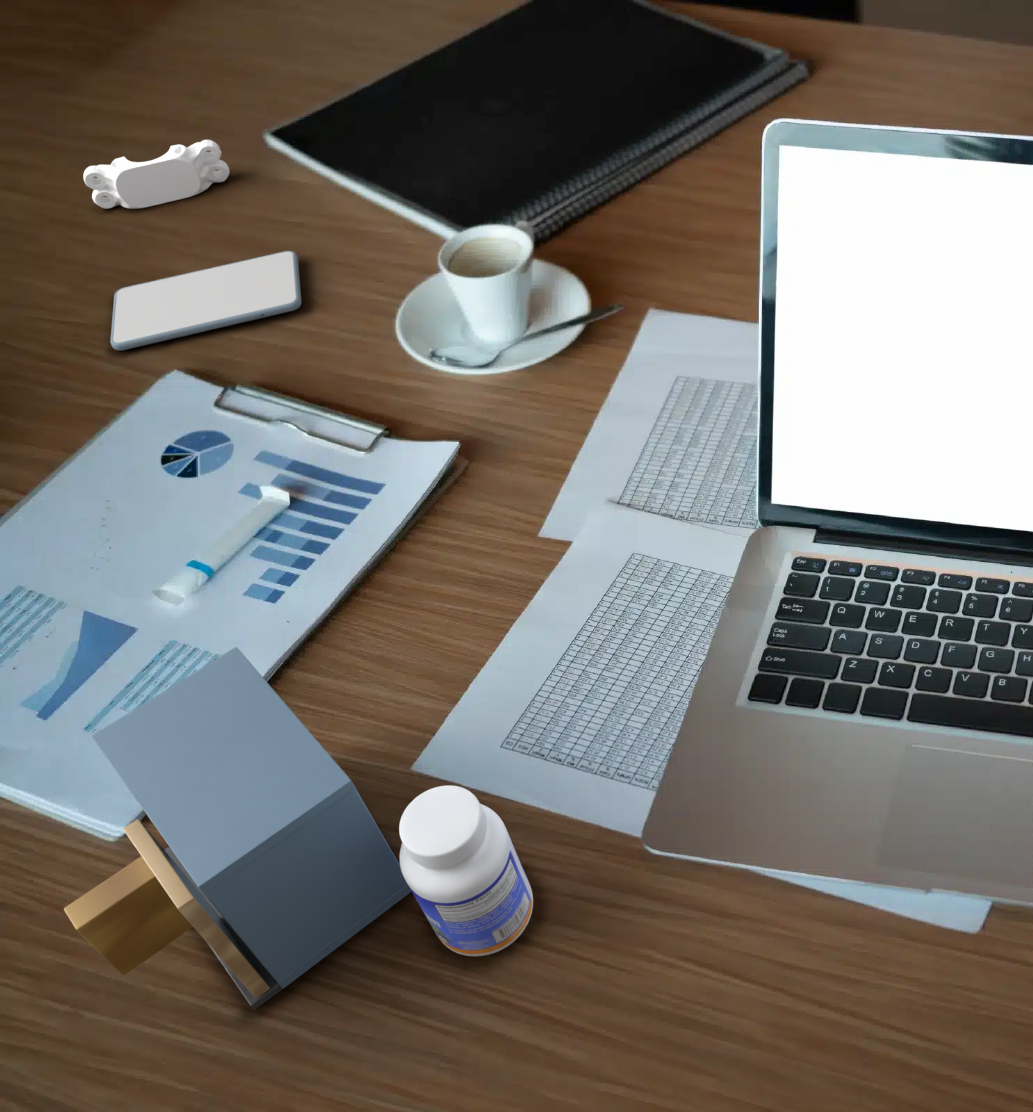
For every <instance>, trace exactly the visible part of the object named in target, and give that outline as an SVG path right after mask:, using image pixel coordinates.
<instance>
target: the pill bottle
mask: <svg viewBox="0 0 1033 1112" xmlns="http://www.w3.org/2000/svg"><path fill="white" fill-rule="evenodd" d="M398 831H399V837H400V841H401V842H402V843H401V845H400V850H399V864H400V867H401V871H402V874H403V876H404V878H405V880H406V882H407V884H408V886H409V887H410V889H411V891H412V892H411V893H412V895H413V896H414V898H415V900H416V901H417V903H418V905H419V906H420V909H421V910H422V912H423V914H424V916H425V917H426V919H427V921H428V922H429V924H430V926H431V928H432V929H433V931H434V933H435V935H436V936H437V938H438V939H439V941H440V942H441V943H442V944H443V945H444V946H445V947H446V948H448V949H449V950H450V951H452V952H453V953H456V954H457V955H458V954H459V955H462V956H466V957H483V956H489V955H492V954H495V953H498V952H500V951H502V950H504V949H506V948H508V947H509V946H510V945H512V944H513V943H515V941H517V939H519V937H520V936H521V935H523V932H524V931H525V929H526V927H527V926H528V925H529V922H530V920H531V917H532V915H533V914H532V913H533V909H534V895H533V890H532V887H531V883H530V882H529V879H528V876H527V874H526V871H525V870H524V868H523V866H522V863H521V861H520V858H519V856H518V853H517V851H516V849H515V847H514V844H513V842H512V839H511V837H510V834H509V831H508V830H507V827H506V824H505V823H504V821H503V820H502V819H501V817H500V816H499V815H498V813H497V812H495V811H494V810H493V809H492V808H490V807H488V806H487V805H484V804H482V803H480V801H479V799H478V798H477V797H476V796H475V794H474V793H472V792H471V791H470V790H468V789H466V788H465V787H461V786H459V785H458V786H457V785H451V784H450V785H440V786H436V787H433V788H430V789H427V790H425V791H423V792H422V793H420V794H419V795H417V796H416V797H415V798H413V800H412V801H411V802H409V804H407V806H406V808H405V809H404V811H403V812H402V815H401V817H400V820H399V827H398Z"/></svg>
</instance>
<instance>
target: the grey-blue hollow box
mask: <svg viewBox="0 0 1033 1112" xmlns="http://www.w3.org/2000/svg"><path fill="white" fill-rule="evenodd" d="M91 739H92V740H93V741H94V743H95V744H96V745H97V747H98V748H99V750H100V751H101V752H102V754H103V755H104V757H105V758H106V760H107V761H108V763H110V765H111V766H112V768H113V769H114V771H115V772H116V773H117V775H118V776H119V778H120V780H121V781H122V782H123V783H124V785H125V787H127V789H128V790H129V791H130V793H131V795H132V796H133V798H134V799H135V800H136V802H137V803H138V805H139V806H140V808H141V809H142V810H143V812H144V813H145V815H146V816H147V818H148V819H149V821H150V822H151V823H152V824H153V826H154V827H155V829H156V830H157V831H158V832H159V834H160V836H161V837H162V839H164V841H165V842H166V844H167V847H166V848H165V849H164V848H163V849H164V850H165V851H166V852H167V854H168V855H169V856H170V857H171V858H172V860H173V861H174V862H175V863H176V864H177V866H178V867H179V868H180V869H181V871H182V872H183V873H184V874H185V875H186V877H187V878H188V879H189V880H190V881H191V883H192V884H193V885H194V886H195V887H196V889H197V890H198V891H199V892H200V893H201V895H202V896H203V897H204V898H205V899H206V901H207V902H208V903H209V904H210V905H211V907H212V908H213V909H214V910H215V911H216V913H217V914H218V915H219V917H220V918H221V920H222V921H223V922H224V924H225V925H226V927H227V928H228V929H229V931H230V932H231V934H232V935H233V936H234V938H235V939H236V941H237V942H238V943H239V945H240V946H241V948H242V949H243V951H244V952H245V953H246V955H247V956H248V958H249V959H250V960H251V962H252V963H253V965H254V966H255V967H256V969H257V970H258V972H259V973H260V974H261V976H262V977H263V979H264V980H265V981H266V983H267V984H268V986H269V987H270V989H269V990H267V991H266V992H265V993H263V994H262V995H261V996H260V997H258V998H255V997H254V996H253V995H252V993H251V992H250V991H249V990H248V989H247V988H246V987H245V985H244V984H243V983H242V982H241V981H240V980H239V979H238V977H237V976H236V975H235V974H234V973H233V972H232V970H231V969H230V968H229V967H228V966H227V965H226V964H225V962H224V961H223V960H222V959H221V958H220V957H219V956H218V954H217V953H216V952H215V951H214V950H213V949H212V948H211V946H210V945H209V944H208V943H207V942H206V945H208V947H209V948H210V950H211V951H212V953H213V954H214V955H215V957H216V958H217V960H218V961H219V962H220V964H221V965H222V967H223V968H224V970H225V971H226V973H227V974H228V975H229V977H230V979H231V980H232V981H233V982H234V984H235V986H236V987H237V989H238V990H239V992H240V993H241V994H242V996H243V997H244V998H245V1000H246V1001H247V1003H248V1004H249V1006H250V1007H251V1008H252V1010H257V1009H258V1008H259V1007H261V1006H263V1005H264V1004H265V1003H267V1002H268V1001H269V1000H270V999H272V998H273V997H274V996H275V995H277V994H278V993H279V992H281V991H283V989H285V988H286V987H288V986H289V985H290V984H292V983H293V982H294V981H295V980H297V979H298V978H299V977H301V976H302V975H303V974H305V973H306V972H308V971H309V970H311V968H312V967H314V966H316V965H317V964H318V963H319V962H321V961H323V959H324V958H326V957H328V955H329V954H332V952H333V951H336V950H337V948H339V947H340V946H342V945H343V944H344V943H345V942H347V941H348V940H350V939H352V937H354V936H355V935H357V934H358V933H359V932H360V931H362V930H363V929H364V928H366V927H367V926H368V925H369V924H371V923H372V922H373V921H375V920H376V919H377V918H379V917H380V916H381V915H383V914H384V913H386V912H387V911H388V910H389V909H390V908H392V907H393V906H394V905H396V904H397V903H398V902H400V901H401V900H402V899H404V898H405V897H406V896H408V895H409V894H410V893H412V891H411V889H410V887H409V886H408V884H407V882H406V880H405V878H404V876H403V874H402V871H401V867H400V862H399V861H398V859H397V858H396V856H395V854H394V852H393V850H392V849H391V847H390V845H389V843H388V841H387V840H386V838H385V837H384V834H383V833H382V832H381V830H380V827H379V826H378V825H377V822H376V821H375V819H374V817H373V816H372V814H371V812H370V811H369V809H368V806H367V805H366V803H365V802H364V800H363V799H362V796H361V795H360V793H359V791H358V790H357V787H356V786H355V784H354V783H353V781H352V779H351V778H350V777H349V776H348V775H347V774H346V772H345V771H344V770H343V769H342V768H341V766H340V765H339V764H338V763H337V762H336V761H335V759H333V758H332V756H331V755H330V754H329V752H328V751H327V750H326V749H325V748H324V747H323V746H322V744H321V743H320V742H319V741H318V740H317V738H316V737H315V736H314V735H313V734H312V733H311V731H309V729H308V728H307V727H306V726H305V725H304V723H303V722H302V721H301V720H300V719H299V718H298V716H297V715H296V714H295V713H294V712H293V710H292V709H291V708H290V707H289V706H288V704H287V703H286V702H285V701H284V700H283V698H281V697H280V695H278V693H277V692H276V691H275V689H274V688H273V687H272V686H271V685H270V684H269V682H267V680H266V679H265V678H264V677H263V676H262V675H261V673H260V672H259V671H258V670H257V669H256V667H255V666H254V665H253V664H252V662H250V661H249V659H248V658H247V657H246V656H245V654H244V653H243V651H241V650H240V649H239V647H237V646H234V647H233V648H231V649H230V650H228V651H227V652H225V653H224V654H222V655H220V656H219V657H217V658H215V659H213V660H212V661H211V662H209V663H208V664H206V665H204V666H203V667H201V668H200V669H198V670H196V671H195V672H193V673H191V674H189V675H188V676H187V677H186V676H185V678H183V679H182V680H180V681H178V682H176V683H175V684H174V685H172V686H171V687H169V688H167V689H166V690H164V691H162V692H160V693H159V694H157V695H156V696H153V697H152V698H151V699H149V700H147V701H146V702H144V703H143V704H141V705H139V706H137V708H135V709H133V710H131V711H129V712H128V713H126V714H125V715H123V716H121V717H120V718H118V719H116V720H115V721H114V722H112V723H110V724H109V725H107V726H105V727H104V728H102V729H101V730H99V731H97V732H96V733H94V734H93V735H91Z"/></svg>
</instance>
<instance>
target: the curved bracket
mask: <svg viewBox="0 0 1033 1112" xmlns="http://www.w3.org/2000/svg"><path fill="white" fill-rule="evenodd" d="M222 153H223V152H222V151H221V148H220V145H219V144H218V143H216V142H215V141H213V140H212V139H202V140H201V141H197V142H193V144H191V145H189V146H185V145H183V144H181V143H180V144H173V145H170V147H169V149H168V150H167V152H165V153H164V154H163V155H161V156H159V157H156V158H154V159H151V160H146V161H138V162H137V161H131V160H129V159H127V158H126V156H121V157H120V156H119V157H116V158H114V159H113V160H112V161H111V163H110V164H97V165H89V166H88V167H86V168H85V169H84V172H83V175H82V176H83V181H84V185H85V186H86V187H88V188H89V189H92V190H93V191H92V194H91V199H92V201H93V203H94V204H96V205H97V206H98V207H100V208H102V209H107V210H108V209H112V208H114V207H117V206H120V207H122V208H126V209H131V210H133V209H135V210H137V209H144V208H150V207H154V206H157V205H162V204H166V203H170V202H175V201H178V200H183V199H187V198H191V197H194V196H196V195H199V194H202V193H203V192H204V191H207V190H208V189H209V187H210V186H212V184H214V183H223V182H226V180H227V179H228V177H229V176H230V173H231V172H230V171H231V170H230V168H229V166H228V164H227V162H226V161H224V160H222V159H221V156H222Z"/></svg>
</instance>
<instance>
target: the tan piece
mask: <svg viewBox="0 0 1033 1112" xmlns="http://www.w3.org/2000/svg"><path fill="white" fill-rule="evenodd" d="M122 830H123V832H124V833H125V835H126V836H127V837H128V839H129V841H130V842H131V843H132V845H133V846H134V848H135V849H136V850H137V852H138V853H139V854H140V856H139V857H138V858H136V859H135V860H133V861H132V862H130V863H129V864H127V865H126V866H125V867H123V868H121V869H120V870H118V871H117V872H116V873H114V874H113V875H111V876H110V877H108V878H106V879H105V880H104V881H102V882H101V883H99V884H98V885H96V886H94V887H92V888H91V889H90V890H88V891H87V892H86V893H84V894H83V895H81V896H80V897H78V898H77V899H75V900H73V901H72V902H70V903H69V904H68V905H66V906H64V908H63V911H64V913H65V915H66V916H67V918H68V919H69V921H70V922H71V924H72V926H73V928H74V929H75V930H76V931H77V933H79V935H81V936H82V937H83V938H84V939H85V940H86V941H87V943H88V944H90V945H91V946H92V947H93V948H94V949H95V950H96V951H97V952H98V953H99V954H100V955H101V956H102V957H103V958H104V959H105V960H106V961H107V962H108V963H109V964H110V965H111V966H112V967H113V968H114V969H115V970H116V971H117V972H118V973H119V974H121V976H126V975H128V974H129V973H130V972H132V971H133V970H134V969H136V968H137V967H139V966H140V965H142V964H143V963H144V962H146V961H147V960H149V959H150V958H151V957H153V956H154V955H155V954H157V953H158V952H160V951H161V950H163V949H164V948H165V947H168V946H169V945H170V944H171V943H173V942H174V941H175V940H177V939H179V938H180V937H181V936H182V935H184V934H185V933H186V932H188V931H190V930H191V929H192V928H194V929H195V931H197V933H198V934H199V935H200V936H201V937H202V938H203V940H204V941H205V943H206V944H207V943H208V944H209V945H210V946H211V948H212V949H213V950H214V951H215V952H216V953H217V954H218V956H219V957H220V958H221V959H222V960H223V961H224V962H225V964H226V965H227V966H228V967H229V968H230V969H231V970H232V972H233V973H234V974H235V975H236V976H237V977H238V979H239V980H240V981H241V982H242V983H243V984H244V985H245V987H246V988H247V989H248V990H249V991H250V992H251V993H252V995H253V996H254V997H255V998H258V997H260V996H261V995H262V994H263V993H265V992H266V991H267V990H269V989H270V987H269V986H268V984H267V983H266V981H265V980H264V979H263V977H262V976H261V974H260V973H259V972H258V970H257V969H256V967H255V966H254V965H253V963H252V962H251V960H250V959H249V958H248V956H247V955H246V953H245V952H244V951H243V949H242V948H241V946H240V945H239V943H238V942H237V941H236V939H235V938H234V936H233V935H232V934H231V932H230V931H229V929H228V928H227V927H226V925H225V924H224V922H223V921H222V920H221V918H220V917H219V915H218V914H217V913H216V911H215V910H214V909H213V908H212V907H211V905H210V904H209V903H208V902H207V901H206V899H205V898H204V897H203V896H202V895H201V893H200V892H199V891H198V890H197V889H196V887H195V886H194V885H193V884H192V883H191V881H190V880H189V879H188V878H187V877H186V875H185V874H184V873H183V872H182V871H181V869H180V868H179V867H178V866H177V864H176V863H175V862H174V861H173V860H172V858H171V857H170V856H169V855H168V854H167V852H166V851H165V850H164V848H163V846H162V845H161V844H160V843H159V841H158V840H157V839H156V838H155V837H154V835H153V834H152V833H151V832H150V830H149V829H148V828H147V826H145V825H144V824H143V822H142V821H141V820H140V819H139V818H137V819H135V820H134V821H132V822H131V823H129V824H127V825H126V826H125V827H123V828H122ZM208 944H207V945H208ZM209 945H208V946H209ZM211 948H210V949H211ZM212 949H211V950H212Z"/></svg>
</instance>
